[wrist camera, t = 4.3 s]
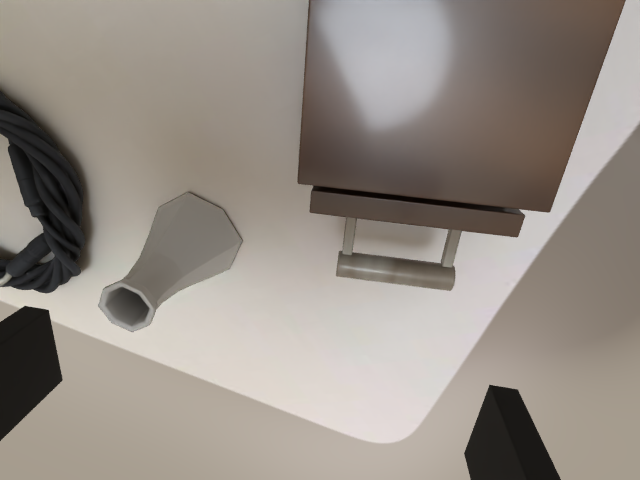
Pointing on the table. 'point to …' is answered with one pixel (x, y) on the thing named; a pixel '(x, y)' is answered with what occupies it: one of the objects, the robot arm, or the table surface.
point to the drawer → (410, 213)
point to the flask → (172, 260)
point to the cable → (42, 205)
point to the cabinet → (450, 95)
